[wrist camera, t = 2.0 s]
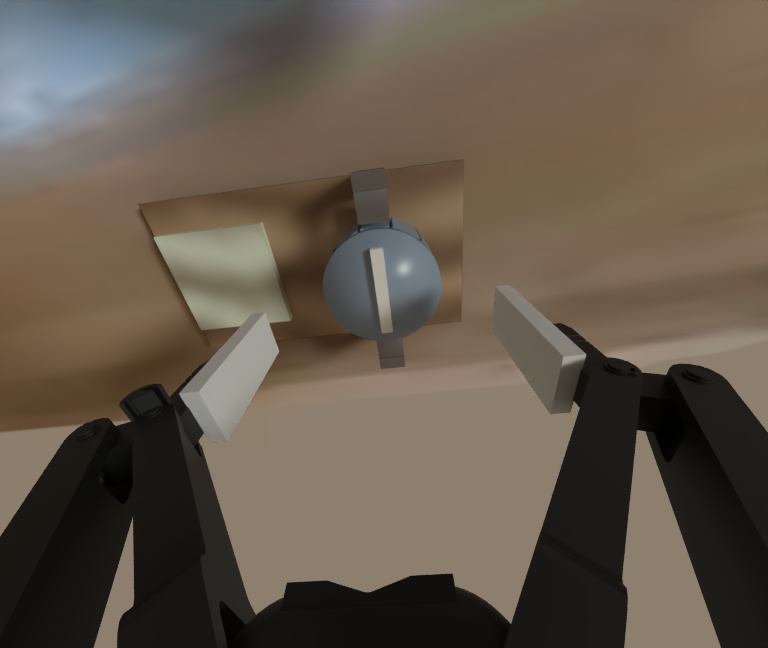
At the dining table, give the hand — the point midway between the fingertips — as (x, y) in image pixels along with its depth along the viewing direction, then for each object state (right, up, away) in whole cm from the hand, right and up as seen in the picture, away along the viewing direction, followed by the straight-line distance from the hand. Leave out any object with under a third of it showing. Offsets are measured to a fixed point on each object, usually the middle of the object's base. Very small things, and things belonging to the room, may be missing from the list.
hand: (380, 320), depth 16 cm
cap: (0, +5, +7) cm, 8 cm away
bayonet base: (-6, +5, +10) cm, 13 cm away
